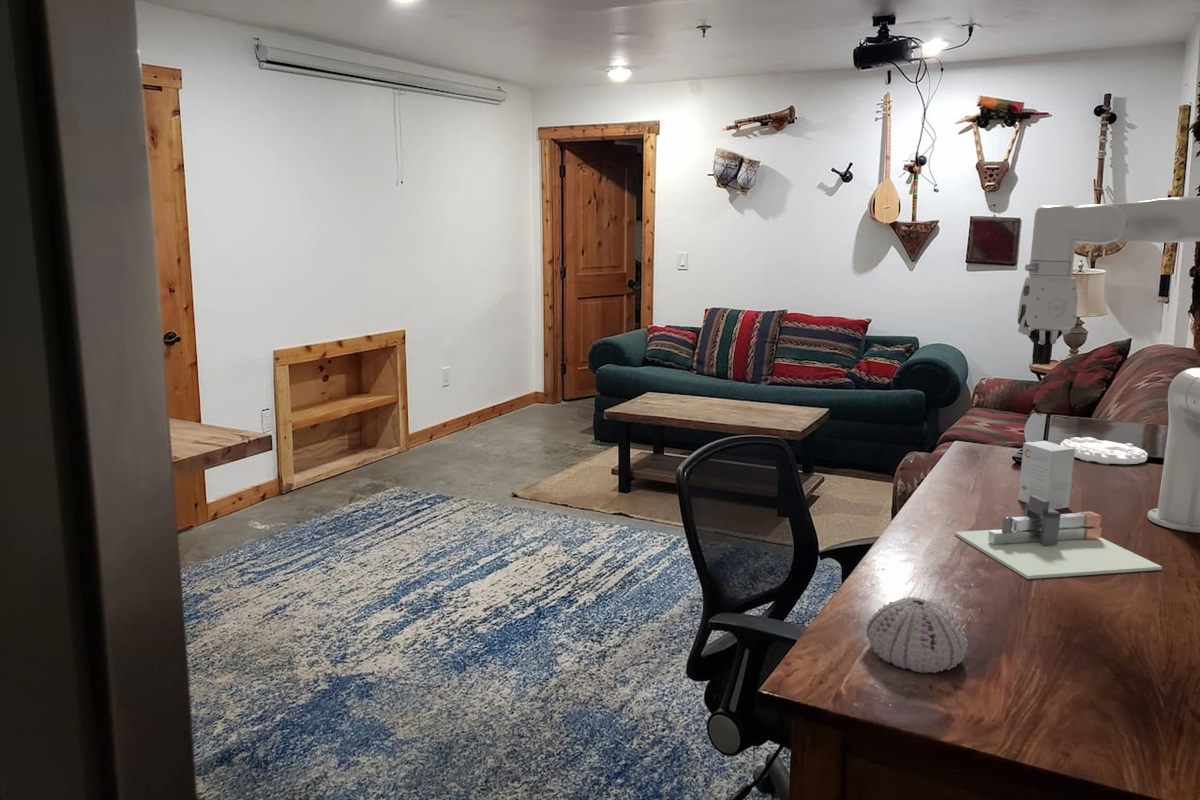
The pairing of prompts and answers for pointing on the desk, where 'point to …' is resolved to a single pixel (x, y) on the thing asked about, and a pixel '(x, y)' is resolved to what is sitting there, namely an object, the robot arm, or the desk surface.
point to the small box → (1046, 473)
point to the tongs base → (1039, 533)
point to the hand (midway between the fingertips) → (1040, 363)
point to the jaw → (1065, 521)
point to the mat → (1060, 556)
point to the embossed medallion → (1105, 451)
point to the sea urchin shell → (917, 635)
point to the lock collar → (1044, 519)
